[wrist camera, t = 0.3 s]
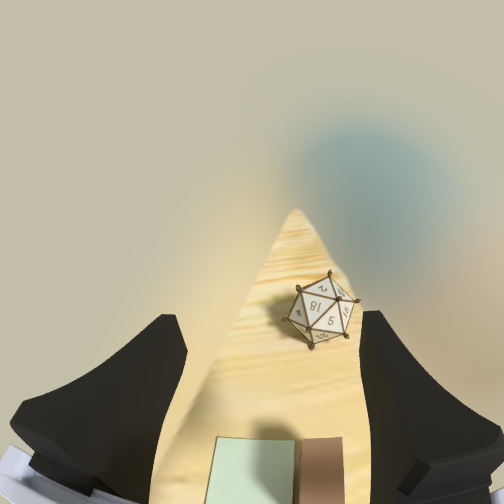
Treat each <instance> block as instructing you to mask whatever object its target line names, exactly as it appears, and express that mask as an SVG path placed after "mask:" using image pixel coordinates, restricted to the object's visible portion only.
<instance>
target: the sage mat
mask: <svg viewBox="0 0 504 504" xmlns="http://www.w3.org/2000/svg"><path fill="white" fill-rule="evenodd" d="M294 453H295V440H253V439H234V438H221V437H218V438H217V444H216V449H215V454H214V460H213V465H212V471H211V476H210V482H209V487H208V493H207V498H206V503H205V504H292V498H293V478H294Z"/></svg>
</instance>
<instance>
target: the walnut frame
mask: <svg viewBox="0 0 504 504" xmlns="http://www.w3.org/2000/svg"><path fill="white" fill-rule="evenodd" d="M298 504H345V494H344V466H343V447H342V437H336V438H315V439H302V444H301V456H300V467H299V492H298Z"/></svg>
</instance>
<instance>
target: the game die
mask: <svg viewBox="0 0 504 504" xmlns="http://www.w3.org/2000/svg"><path fill="white" fill-rule="evenodd" d="M331 274H332V271H331V269H330V270H329V271H328V277H325V278H323V279H321V280H319V281H316V282H314V283H312V284H310V285H307V286H305V287H303V288H301V286H300V285H296V291H298V294H297V297H296V299H295V301H294V304H293V306H292V308H291V311H290V313H289V315H288V317H287V318H282V320H281V321H283V322H285V321H287V320H288V321H289V322H290V323H292V324H293V325H294V326H295V327H296V328H297V329H298V330H299V331H300V332H301V333H302V334H303V335H304V336H305V337H306V338H307V339H308V340H309V341H310V342H311V343H312V344H311V347H310V348H311V351H312V350H313V349H314V346H315V345H314V344H316V343H319V342H322V341H325V340H328V339H331V338H334V337H338V336H341V335H343V336H344V337H345V338H347V339H349V335H348V334H347V333H345V332H346V329H347V326H348V322H349V319H350V316H351V313H352V310H353V307H354V304H355V303H359V302H360V301H361V299H356V300H353V299H352V298H351V297H350V296H349V295H348V294H347V293H346V292H345V291H344V290H343V289H342V288H341V287H340V286H339V285H338V284H337V283H336V282H335V281H334V280H333V279H332V278H331V277H330V276H331Z"/></svg>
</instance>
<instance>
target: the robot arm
mask: <svg viewBox="0 0 504 504" xmlns="http://www.w3.org/2000/svg"><path fill="white" fill-rule="evenodd" d="M187 352H188V350H187V348H186V345H185V342H184V339H183V336H182V333H181V330H180V328H179V325H178V322H177V319H176V316H175V315H171V314H162V315H160V316H159V317H157V318H156V319H155V320H154V321H153V322H152V323H150V324H149V325H148V326H147V327H146V328H145V329H144V330H143V331H141V332H140V333H139V334H138V335H137V336H136V337H134V338H133V339H132V340H131V341H130V342H129V343H127V344H126V345H125V346H124V347H123V348H121V349H120V350H119V351H118V352H116V353H115V354H114V355H113V356H111V357H110V358H109V359H107V360H106V361H105V362H104V363H102V364H101V365H99V366H98V367H96V368H95V369H93V370H92V371H90V372H88V373H87V374H85V375H83V376H82V377H80V378H78V379H76V380H74V381H73V382H71V383H69V384H67V385H65V386H63V387H60V388H58V389H56V390H54V391H51V392H49V393H46V394H44V395H41V396H38V397H35V398H31V399H28V400H25V401H23V402H22V403H21V405H20V406H19V408H18V410H17V411H16V413H15V414H14V416H13V418H12V419H11V421H10V425H11V427H12V429H13V430H14V432H15V433H16V434H17V435H18V436H19V437H20V438H21V439H22V440H23V441H24V442H25V443H26V444H27V445H28V446H29V447H30V448H32V449H33V450H34V451H35V453H34V454H33V456H31V455H29V454H28V453H27V452H25V451H23V450H21V449H20V448H18V447H16V446H14V445H12V444H10V446H9V447H8V449H7V451H6V452H5V454H4V456H3V458H2V459H1V461H0V494H1V495H2V496H3V497H5V498H6V499H7V500H9V501H10V502H12V503H13V504H149V493H150V484H151V476H152V470H153V464H154V459H155V454H156V449H157V445H158V440H159V436H160V432H161V429H162V425H163V422H164V419H165V416H166V413H167V411H168V408H169V406H170V403H171V401H172V398H173V396H174V393H175V391H176V388H177V386H178V383H179V381H180V378H181V375H182V373H183V369H184V365H185V361H186V356H187ZM359 357H360V370H361V378H362V383H363V389H364V395H365V400H366V406H367V412H368V418H369V424H370V435H371V494H370V504H504V487H502V488H500V489H498V490H496V491H494V492H492V493H490V492H489V487H488V486H490V485H491V484H492V480H491V474H492V473H493V472H494V471H495V470H496V469H497V467H499V466H500V465H501V464H502V463H503V462H504V434H503V432H502V429H501V427H500V426H498V425H496V424H495V423H493V422H491V421H489V420H488V419H486V418H484V417H482V416H481V415H479V414H477V413H476V412H474V411H473V410H471V409H470V408H468V407H467V406H466V405H464V404H463V403H461V402H460V401H459V400H458V399H456V398H455V397H454V396H453V395H451V394H450V393H449V392H448V391H446V390H445V389H444V388H443V387H442V386H441V385H440V384H439V383H437V381H436V380H435V379H433V377H432V376H431V375H429V374H428V372H426V370H425V369H424V368H423V367H422V366H421V365H420V364H419V362H418V361H417V360H416V359H415V358H414V357H413V355H412V354H411V353H410V352H409V351H408V349H407V348H406V347H405V345H404V344H403V343H402V341H401V340H400V339H399V337H398V336H397V335H396V333H395V332H394V330H393V329H392V328H391V326H390V325H389V323H388V322H387V320H386V319H385V317H384V316H383V314H382V313H381V312H380V311H379V310H378V311H363V319H362V329H361V339H360V347H359Z"/></svg>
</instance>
